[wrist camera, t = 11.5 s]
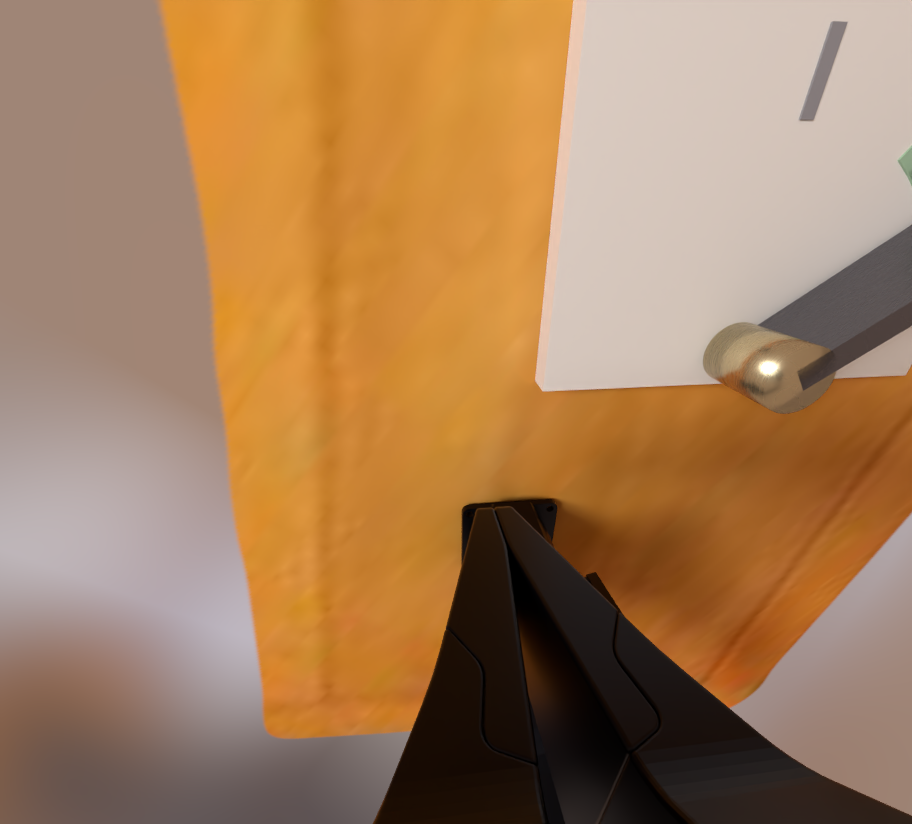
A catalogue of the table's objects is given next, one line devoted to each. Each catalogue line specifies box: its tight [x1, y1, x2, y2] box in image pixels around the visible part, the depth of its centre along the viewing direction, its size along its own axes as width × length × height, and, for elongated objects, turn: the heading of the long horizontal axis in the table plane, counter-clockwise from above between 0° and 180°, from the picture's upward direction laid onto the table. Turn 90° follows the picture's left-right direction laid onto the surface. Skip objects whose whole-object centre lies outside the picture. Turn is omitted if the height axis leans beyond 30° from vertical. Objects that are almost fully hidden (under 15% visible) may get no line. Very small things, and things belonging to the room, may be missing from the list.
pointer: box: [703, 225, 912, 414], centre depth 17 cm, size 16×3×4 cm, turn 127°
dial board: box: [535, 0, 912, 391], centre depth 18 cm, size 20×22×2 cm
